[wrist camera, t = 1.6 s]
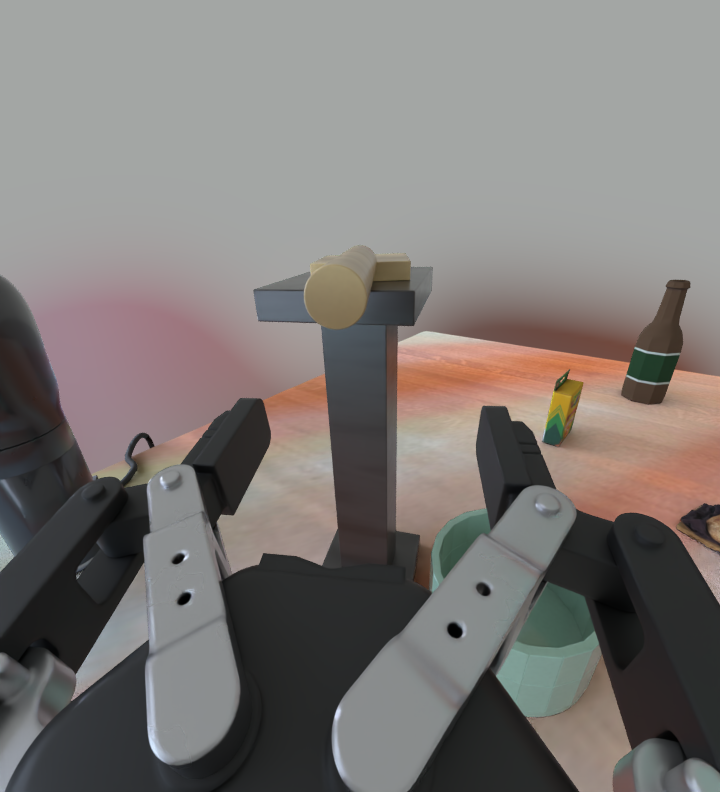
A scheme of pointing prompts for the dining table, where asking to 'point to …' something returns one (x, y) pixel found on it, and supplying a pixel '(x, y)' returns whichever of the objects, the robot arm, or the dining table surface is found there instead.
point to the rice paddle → (349, 284)
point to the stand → (361, 413)
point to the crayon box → (562, 410)
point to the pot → (532, 631)
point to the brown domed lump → (703, 525)
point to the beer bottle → (657, 349)
